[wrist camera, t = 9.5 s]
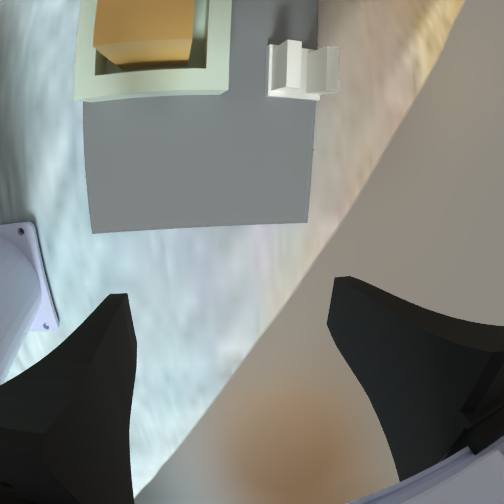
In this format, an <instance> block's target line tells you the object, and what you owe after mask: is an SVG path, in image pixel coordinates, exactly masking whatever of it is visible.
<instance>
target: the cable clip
mask: <svg viewBox="0 0 504 504" xmlns="http://www.w3.org/2000/svg"><path fill="white" fill-rule="evenodd" d="M339 71H340V48H337V47H332V46H325V47H322V48H320V49H317V50H311V49H305V48H302V41H295V40H286V41H285V42H283V43H281V44H280V45H272V44H269V45H268V46H267V57H266V87H265V96H268V97H282V98H295V99H305V100H315V101H317V100H320V95H322V94H333V93H339Z"/></svg>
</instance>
